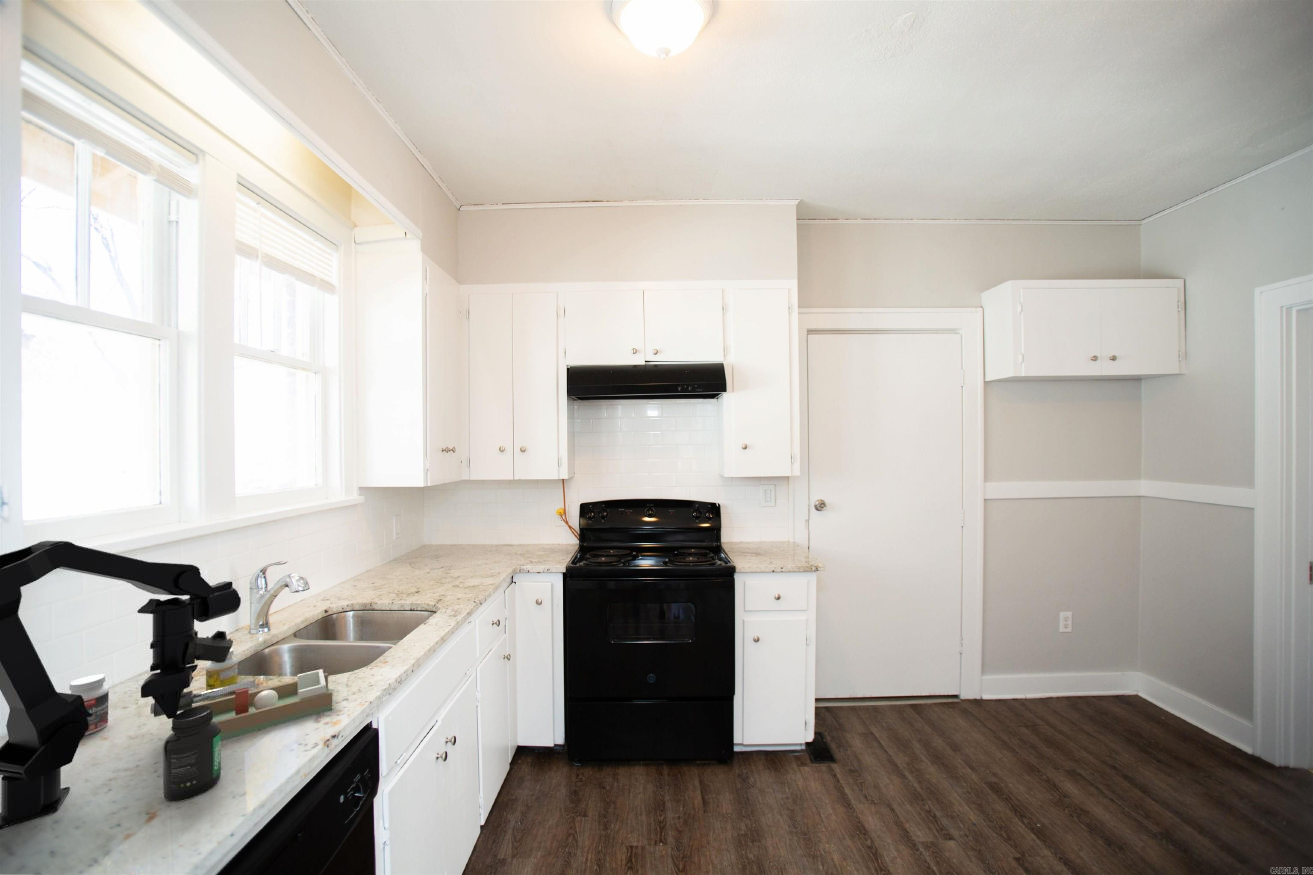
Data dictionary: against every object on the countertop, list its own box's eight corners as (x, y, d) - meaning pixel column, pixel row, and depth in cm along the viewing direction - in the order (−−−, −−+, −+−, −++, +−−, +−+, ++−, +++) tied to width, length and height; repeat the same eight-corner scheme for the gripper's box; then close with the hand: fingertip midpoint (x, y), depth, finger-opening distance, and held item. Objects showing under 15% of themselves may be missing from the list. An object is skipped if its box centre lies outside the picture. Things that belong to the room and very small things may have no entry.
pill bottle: (78, 739, 95) (78, 687, 96) (56, 737, 97) (56, 685, 97) (116, 723, 101) (116, 673, 101) (94, 721, 102) (95, 671, 102)
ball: (278, 711, 103) (278, 691, 103) (253, 717, 100) (252, 697, 100) (278, 703, 106) (278, 684, 106) (253, 709, 103) (253, 690, 103)
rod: (254, 714, 100) (254, 679, 101) (149, 742, 91) (149, 704, 91) (255, 706, 104) (255, 673, 104) (153, 732, 94) (153, 695, 95)
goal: (326, 704, 105) (326, 684, 105) (299, 711, 102) (299, 691, 102) (322, 686, 113) (322, 668, 113) (297, 693, 110) (297, 674, 110)
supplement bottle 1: (231, 777, 83) (231, 704, 83) (183, 806, 77) (182, 726, 77) (201, 771, 85) (201, 699, 85) (151, 798, 78) (151, 721, 79)
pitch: (332, 709, 105) (332, 692, 105) (173, 753, 90) (173, 733, 90) (327, 688, 114) (327, 672, 114) (183, 725, 100) (183, 707, 100)
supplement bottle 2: (241, 692, 113) (241, 649, 114) (212, 702, 109) (211, 658, 109) (231, 686, 116) (231, 645, 116) (201, 697, 111) (201, 653, 112)
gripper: (226, 634, 93) (226, 720, 92) (232, 609, 107) (232, 683, 107) (140, 650, 86) (139, 742, 85) (160, 621, 101) (159, 700, 100)
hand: (173, 714), depth 95 cm, fingers closed on rod, 3 cm apart
